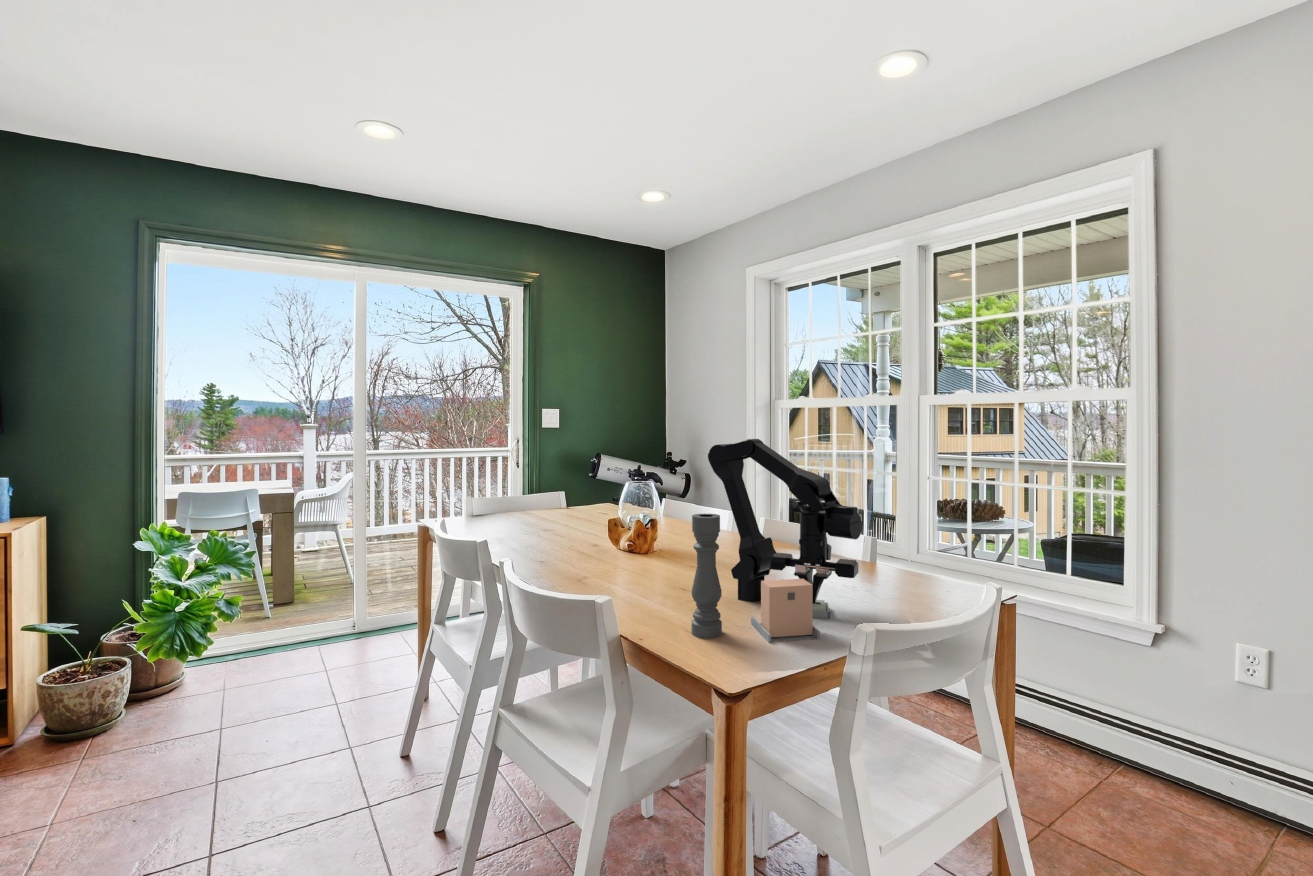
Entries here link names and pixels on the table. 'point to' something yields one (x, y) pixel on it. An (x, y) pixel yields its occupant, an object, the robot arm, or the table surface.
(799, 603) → the salmon pink box
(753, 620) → the grey tray
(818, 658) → the table surface
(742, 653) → the table surface
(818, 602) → the sage button
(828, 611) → the button bezel
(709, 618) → the candle holder
